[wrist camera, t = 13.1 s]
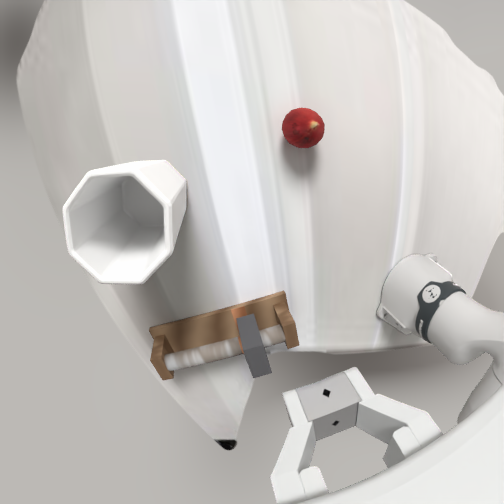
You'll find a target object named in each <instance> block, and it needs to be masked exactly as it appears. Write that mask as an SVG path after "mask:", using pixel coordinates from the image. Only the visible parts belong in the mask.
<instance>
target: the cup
mask: <svg viewBox="0 0 504 504" xmlns="http://www.w3.org/2000/svg"><path fill="white" fill-rule="evenodd" d="M186 199H187V181H186V179H185V178H184V177H183V176H182V175H181V174H180V173H179V172H178V171H177V170H176V169H175V168H174V167H173V166H172V165H171V164H170V163H169V162H168V161H167V160H150V161H136V162H130V163H125V164H120V165H114V166H109V167H105V168H100V169H95V170H91V171H89V172H87V174H86V175H85V176H84V178H83V179H82V180H81V182H80V183H79V185H78V186H77V187H76V189H75V190H74V192H73V193H72V194H71V196H70V197H69V199H68V200H67V202H66V203H65V205H64V206H63V219H64V228H65V235H66V242H67V248H68V252H69V255H70V256H72V258H73V259H75V261H77V262H78V263H79V264H80V265H81V266H82V267H83V268H84V269H85V270H86V271H87V272H88V273H89V274H90V275H92V276H93V277H94V278H95V279H96V280H97V281H98V282H99V283H102V284H143V283H145V282H146V281H147V280H148V279H149V278H150V276H151V275H152V274H153V273H154V272H155V271H156V270H157V269H158V268H159V267H160V266H161V265H162V264H163V263H164V262H165V261H166V260H167V259H168V258H169V257H170V256H171V255H172V253H173V250H174V247H175V243H176V240H177V237H178V233H179V230H180V227H181V224H182V220H183V217H184V214H185V211H186V208H187V207H186Z"/></svg>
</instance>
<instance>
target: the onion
mask: <svg viewBox="0 0 504 504" xmlns="http://www.w3.org/2000/svg"><path fill="white" fill-rule="evenodd" d="M282 131H283V134H284V137H285V138H286V140H287V141H288V142H289V143H290V144H292V145H294V146H296V147H298V148H309V147H312V146H314V145H316V144H317V143H318V142H319V141H320V140H321V139H322V137H323V134H324V122H323V120H322V118H321V117H320V116H319V115H318V114H317V113H316V112H315V111H313V110H311V109H307V108H297V109H294V110H291V111H290V112H289V113H288V114H287V115H286V116H285V118H284V120H283V123H282Z"/></svg>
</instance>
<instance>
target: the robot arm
mask: <svg viewBox="0 0 504 504" xmlns="http://www.w3.org/2000/svg"><path fill="white" fill-rule="evenodd" d="M377 316H379V317H380V318H381V319H383V320H384V321H386V322H387V323H389V324H390V325H392V326H393V327H395V328H396V329H398V330H399V331H401V332H402V333H404V334H405V335H409V334H411V333H414V334H416V335H417V336H418V337H422V338H423V339H424V340H425V341H427V342H429V343H432V344H433V345H434V346H435V347H436V348H437V349H438V350H439V351H440V352H441V353H442V354H443V355H444V356H445V357H446V358H447V359H448V360H449V361H450V362H451V363H453V364H457V365H464V364H467V363H469V362H471V361H473V360H475V359H476V358H478V357H479V356H481V355H482V354H483V353H485V352H487V353H488V354H490V355H491V356H492V357H493V359H494V360H493V362H492V364H491V366H490V367H489V369H488V370H487V372H486V373H485V375H484V377H483V378H482V379H481V381H480V382H479V383H478V385H477V386H476V387H475V389H474V390H473V391H472V393H471V395H470V396H469V398H468V400H467V401H466V403H465V405H464V407H463V409H462V411H461V412H460V414H459V417H458V424H457V425H456V426H455V427H454V428H452V429H451V430H449V431H448V432H447V433H445V434H443V433H442V432H441V430H440V429H439V428H438V426H437V425H436V424H435V422H434V421H433V419H432V418H431V417H430V415H429V414H428V413H427V412H426V411H423V410H420V409H418V408H415V407H412V406H409V405H407V404H404V403H401V402H399V401H396V400H394V399H391V398H388V397H386V396H383V395H381V394H376V395H375V394H374V393H373V392H372V390H371V388H370V387H369V385H368V384H367V382H366V381H365V379H364V378H363V376H362V375H361V373H360V372H359V370H358V369H357V368H356V367H353V368H351V369H348V370H346V371H344V372H340V373H338V374H335V375H333V376H330V377H328V378H325V379H323V380H320V381H319V382H316V383H313V384H310V385H307V386H303V387H300V388H297V389H294V390H291V391H288V392H284V393H282V395H283V398H284V402H285V405H286V409H287V412H288V415H289V419H290V422H291V425H292V427H291V428H290V429H289V431H288V434H287V437H286V440H285V442H284V445H283V447H282V450H281V453H280V455H279V458H278V460H277V463H276V465H275V468H274V470H273V472H272V475H271V481H272V486H273V489H274V494H275V497H276V501H277V504H504V312H498V311H494V310H491V309H488V308H487V307H485V306H483V305H481V304H480V303H478V302H476V301H475V300H473V299H472V298H470V297H469V296H468V295H466V292H465V291H464V290H463V289H462V288H461V287H460V286H459V285H457V284H455V283H453V279H452V275H451V273H449V272H448V271H447V270H446V269H444V268H443V267H442V266H440V265H439V264H438V263H437V258H436V256H435V255H434V254H432V253H431V254H428V255H419V254H413V255H410V256H407V257H405V258H404V259H402V260H401V261H400V262H399V263H398V264H397V265H396V266H395V267H394V268H393V269H392V270H391V272H390V273H389V275H388V277H387V279H386V281H385V283H384V286H383V290H382V298H381V303H380V305H379V307H378V310H377ZM354 426H356V427H358V428H360V429H361V430H363V431H365V432H366V433H368V434H370V435H372V436H374V437H375V438H377V439H379V440H381V441H383V442H385V443H387V444H388V448H387V450H386V453H385V455H384V457H383V460H384V462H385V463H386V465H387V467H388V469H386V470H384V471H382V472H380V473H378V474H375V475H373V476H371V477H369V478H367V479H365V480H362V481H360V482H358V483H355V484H353V485H350V486H348V487H346V488H343V489H340V490H338V491H335V492H332V493H329V492H328V489H327V487H326V484H325V482H324V479H323V477H322V474H321V472H320V469H319V468H318V467H314V466H312V467H309V466H310V463H311V459H312V455H313V452H314V448H315V445H316V441H317V440H320V439H323V438H325V437H328V436H330V435H333V434H335V433H338V432H341V431H343V430H346V429H348V428H351V427H354Z"/></svg>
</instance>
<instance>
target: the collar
mask: <svg viewBox="0 0 504 504" xmlns="http://www.w3.org/2000/svg"><path fill="white" fill-rule="evenodd" d="M236 320H237V324H238V329H239V334H240V339H241V343H242V348H243V352H244V355H245V357H246V360H247V363H248V365H249V368H250V371H251V373H252V376H253V378H256V377H259V376H263V375H266V374H269V373H272V371H271V368H270V365H269V362H268V358H267V355H266V352H265V348H264V345H263V342H262V338H261V335H260V332H259V329H258V326H257V322H256V319H255V316H254V313H253V314H250V315H247V316H243V317H240V318H236Z"/></svg>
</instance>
